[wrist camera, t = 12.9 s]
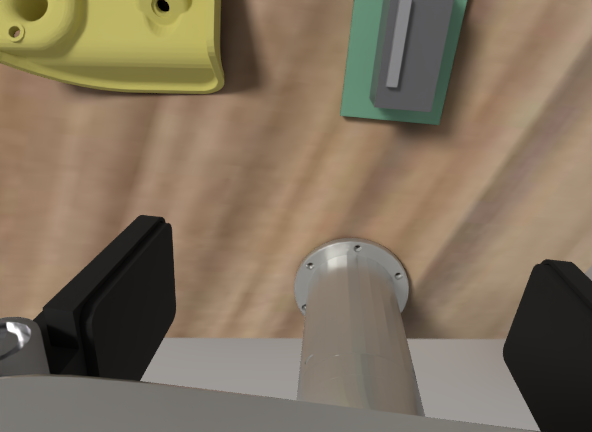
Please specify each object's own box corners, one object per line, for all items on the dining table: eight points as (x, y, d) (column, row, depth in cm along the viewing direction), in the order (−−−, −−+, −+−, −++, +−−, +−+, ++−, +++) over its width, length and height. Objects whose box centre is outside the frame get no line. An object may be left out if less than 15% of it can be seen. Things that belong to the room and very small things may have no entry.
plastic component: (216, -65, 32) (212, 63, 31) (231, -10, 39) (228, 94, 39) (-41, -71, 32) (-47, 57, 31) (23, -14, 39) (18, 90, 39)
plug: (418, 102, 37) (432, 113, 32) (369, 97, 37) (375, 108, 32) (441, -19, 33) (461, -28, 28) (386, -23, 33) (396, -33, 28)
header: (436, 122, 38) (449, 133, 34) (340, 113, 39) (341, 123, 35) (469, -26, 33) (488, -34, 29) (358, -35, 34) (361, -44, 30)
